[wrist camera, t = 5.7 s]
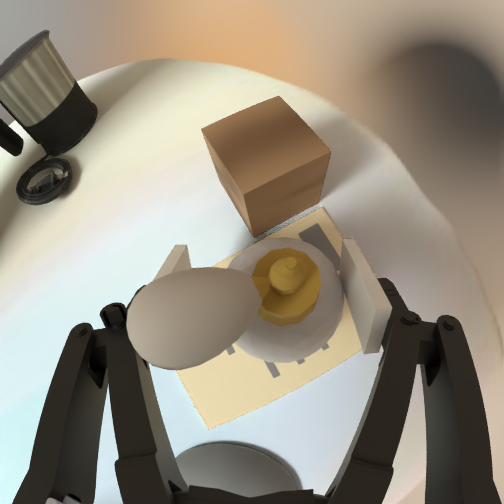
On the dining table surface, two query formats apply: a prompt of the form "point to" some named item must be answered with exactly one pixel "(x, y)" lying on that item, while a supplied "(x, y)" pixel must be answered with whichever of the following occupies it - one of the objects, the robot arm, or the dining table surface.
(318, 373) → the letter
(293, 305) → the perfume bottle
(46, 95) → the milk frother
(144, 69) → the dining table surface
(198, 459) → the grey smooth round part
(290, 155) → the walnut block
